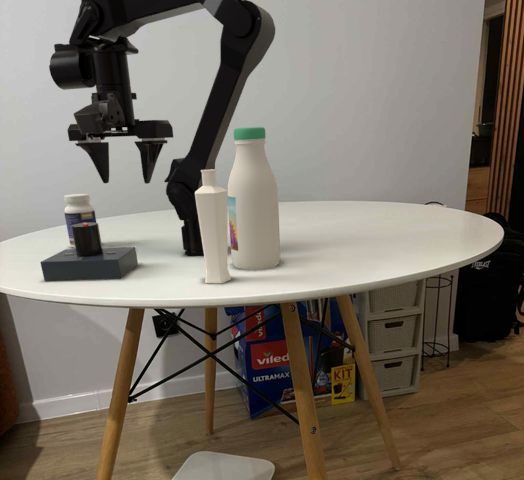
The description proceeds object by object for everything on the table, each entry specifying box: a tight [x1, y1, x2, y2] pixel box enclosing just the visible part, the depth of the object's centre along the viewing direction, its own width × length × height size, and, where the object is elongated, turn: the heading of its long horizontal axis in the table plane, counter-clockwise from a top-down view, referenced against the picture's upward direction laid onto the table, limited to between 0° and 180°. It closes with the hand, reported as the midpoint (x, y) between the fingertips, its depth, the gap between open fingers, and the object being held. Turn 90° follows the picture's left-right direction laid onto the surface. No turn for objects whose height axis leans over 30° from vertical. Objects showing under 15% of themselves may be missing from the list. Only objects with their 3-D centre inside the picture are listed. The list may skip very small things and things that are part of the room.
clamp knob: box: [71, 222, 103, 256], centre depth 78 cm, size 4×4×5 cm
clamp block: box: [40, 246, 139, 282], centre depth 79 cm, size 12×9×3 cm
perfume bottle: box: [195, 168, 232, 284], centre depth 69 cm, size 5×4×15 cm
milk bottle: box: [227, 126, 281, 270], centre depth 76 cm, size 8×8×20 cm
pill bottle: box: [63, 193, 97, 249], centre depth 99 cm, size 6×6×10 cm
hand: (126, 183), depth 91 cm, fingers open, 9 cm apart
